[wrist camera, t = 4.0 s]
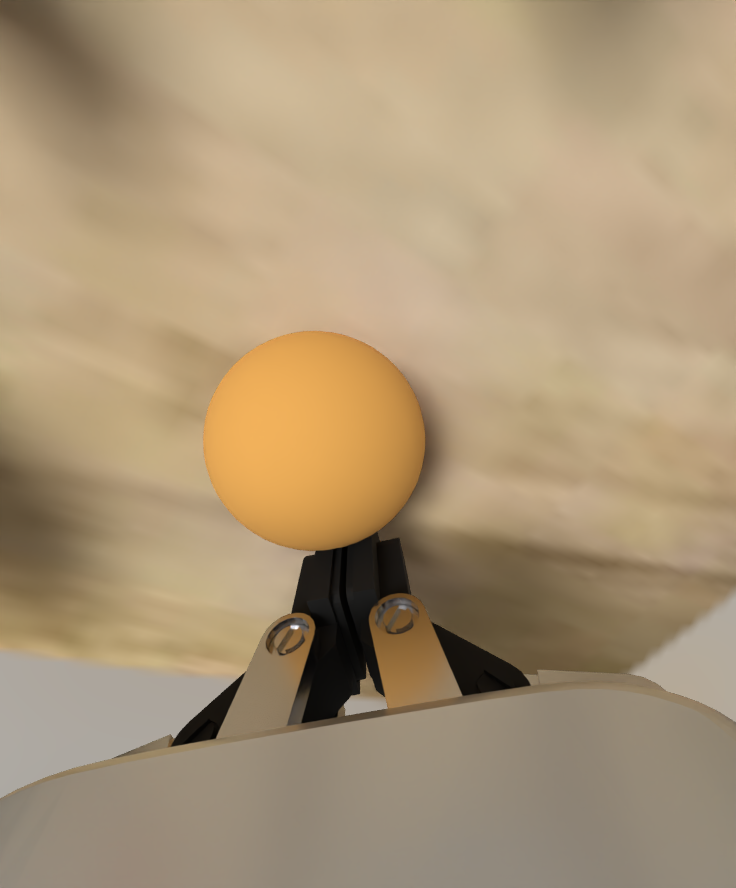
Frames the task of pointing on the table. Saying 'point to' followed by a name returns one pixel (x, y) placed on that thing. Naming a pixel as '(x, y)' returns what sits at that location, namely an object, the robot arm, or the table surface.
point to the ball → (314, 440)
